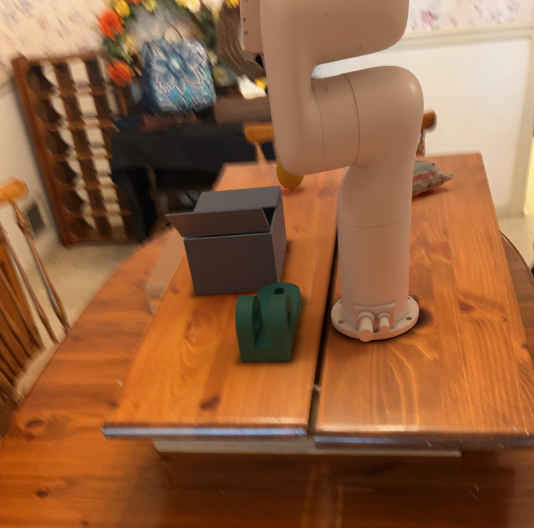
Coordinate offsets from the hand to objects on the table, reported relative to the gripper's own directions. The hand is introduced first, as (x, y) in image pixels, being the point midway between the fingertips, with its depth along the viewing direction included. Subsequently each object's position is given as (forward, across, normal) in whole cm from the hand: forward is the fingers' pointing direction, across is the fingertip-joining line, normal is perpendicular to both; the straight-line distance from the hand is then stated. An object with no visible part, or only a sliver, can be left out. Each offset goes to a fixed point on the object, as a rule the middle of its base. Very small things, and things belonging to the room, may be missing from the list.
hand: (277, 95), depth 116 cm
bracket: (+18, -2, +48) cm, 52 cm away
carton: (+18, +6, +29) cm, 35 cm away
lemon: (+19, -1, -3) cm, 19 cm away
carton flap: (+5, +6, +40) cm, 41 cm away
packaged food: (+18, -25, +4) cm, 31 cm away
